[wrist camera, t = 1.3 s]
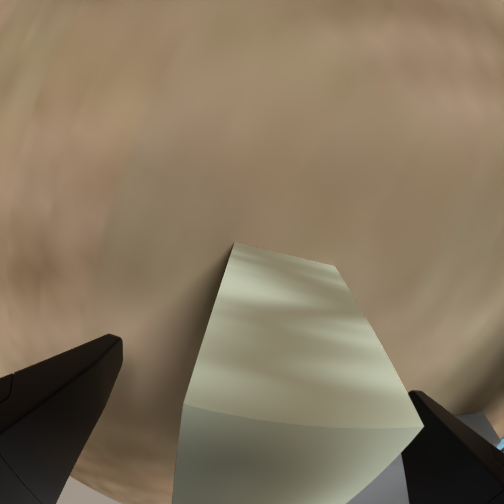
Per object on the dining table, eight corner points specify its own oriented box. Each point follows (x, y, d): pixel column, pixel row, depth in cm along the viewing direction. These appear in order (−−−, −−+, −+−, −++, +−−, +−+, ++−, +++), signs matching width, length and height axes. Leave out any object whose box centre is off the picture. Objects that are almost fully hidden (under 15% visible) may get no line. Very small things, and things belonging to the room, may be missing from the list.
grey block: (480, 408, 15) (501, 441, 11) (404, 487, 19) (413, 517, 15) (326, 412, 14) (337, 468, 11) (269, 494, 18) (268, 532, 14)
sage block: (334, 266, 11) (424, 426, 4) (297, 364, 13) (316, 525, 5) (234, 242, 11) (182, 403, 4) (211, 347, 13) (171, 510, 5)
